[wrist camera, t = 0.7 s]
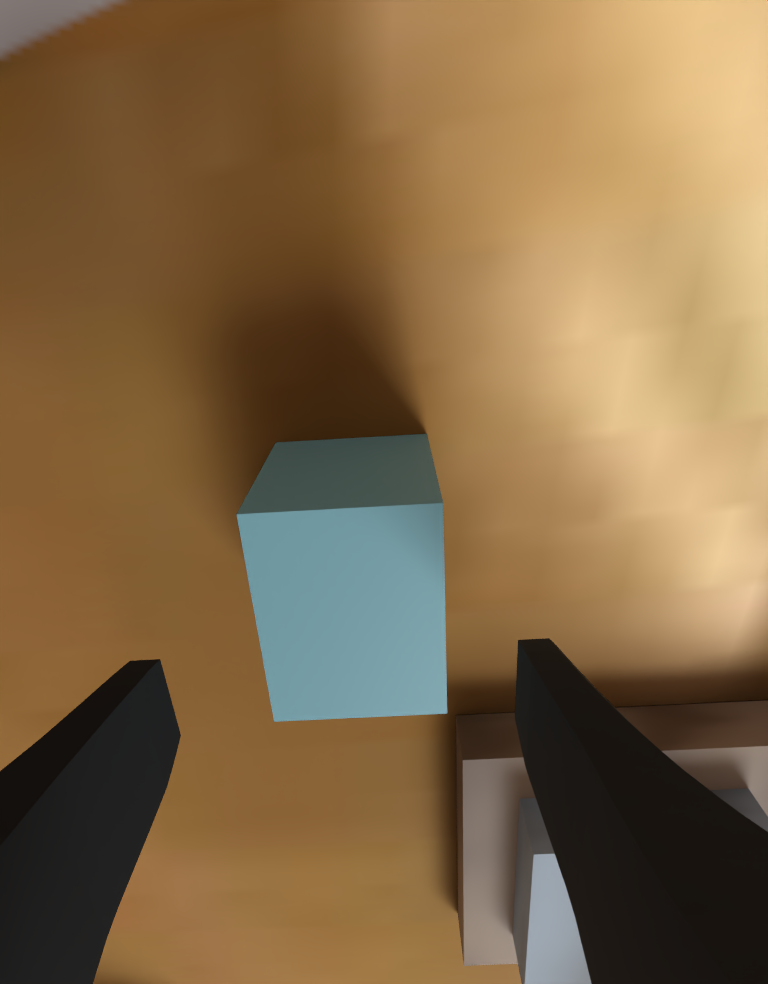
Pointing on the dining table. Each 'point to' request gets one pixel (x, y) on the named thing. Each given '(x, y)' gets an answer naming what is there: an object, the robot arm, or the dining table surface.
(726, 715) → the tower base
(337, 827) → the dining table surface
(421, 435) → the teal brick
